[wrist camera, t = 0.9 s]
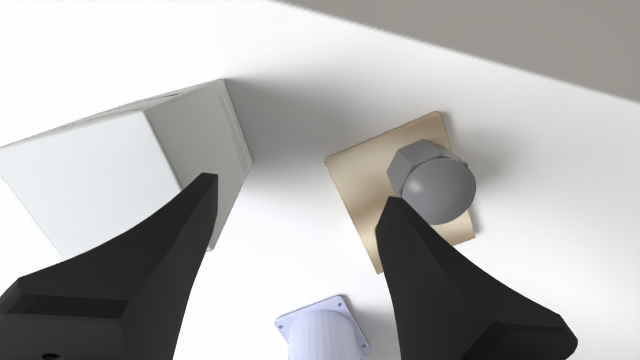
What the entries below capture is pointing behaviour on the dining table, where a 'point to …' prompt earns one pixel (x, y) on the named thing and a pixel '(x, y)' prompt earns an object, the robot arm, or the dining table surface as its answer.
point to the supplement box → (127, 165)
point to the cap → (432, 181)
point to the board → (386, 181)
